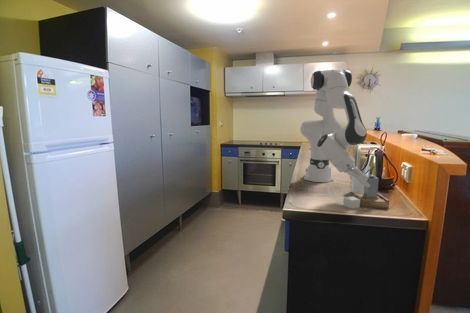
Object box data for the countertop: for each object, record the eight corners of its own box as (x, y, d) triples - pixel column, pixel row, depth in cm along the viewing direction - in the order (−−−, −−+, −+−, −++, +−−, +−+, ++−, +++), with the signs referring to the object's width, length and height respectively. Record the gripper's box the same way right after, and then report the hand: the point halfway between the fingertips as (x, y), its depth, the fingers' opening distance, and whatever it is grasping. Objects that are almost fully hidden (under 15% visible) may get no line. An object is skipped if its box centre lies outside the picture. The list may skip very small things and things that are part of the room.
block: (343, 205, 125) (343, 197, 125) (352, 204, 126) (353, 196, 126) (350, 208, 120) (350, 200, 120) (359, 208, 122) (360, 199, 121)
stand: (352, 199, 134) (353, 192, 133) (377, 200, 132) (378, 192, 132) (361, 207, 122) (361, 199, 121) (388, 208, 121) (389, 200, 120)
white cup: (367, 192, 147) (368, 174, 145) (364, 195, 140) (366, 177, 139) (351, 189, 151) (353, 172, 150) (348, 193, 145) (350, 175, 143)
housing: (362, 195, 130) (364, 173, 128) (373, 196, 129) (375, 174, 127) (366, 199, 125) (368, 176, 123) (378, 199, 124) (380, 176, 122)
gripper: (357, 162, 115) (379, 185, 115) (343, 155, 135) (362, 174, 136) (346, 172, 116) (367, 194, 117) (333, 164, 136) (352, 183, 137)
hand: (364, 183), depth 126 cm, fingers open, 8 cm apart
